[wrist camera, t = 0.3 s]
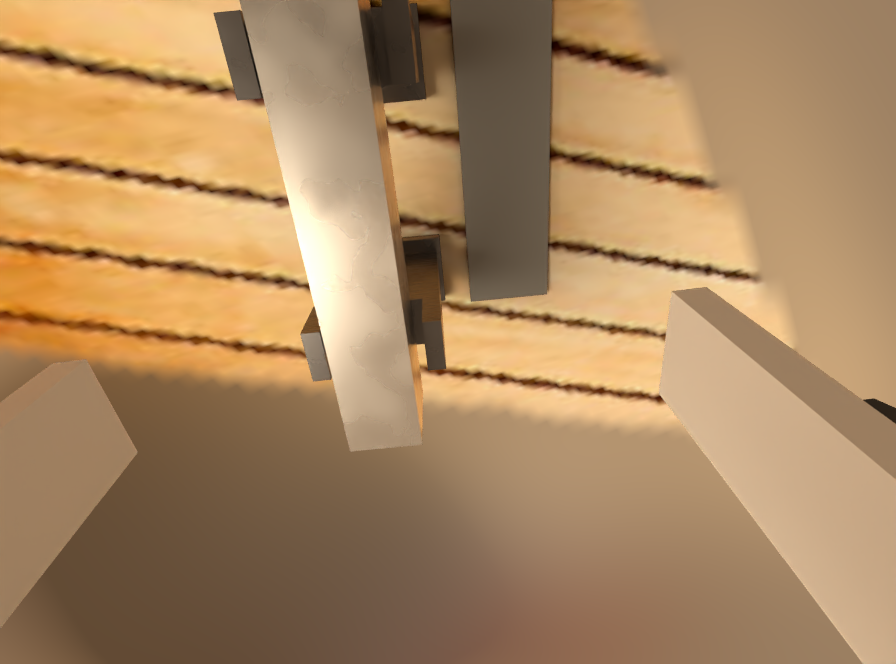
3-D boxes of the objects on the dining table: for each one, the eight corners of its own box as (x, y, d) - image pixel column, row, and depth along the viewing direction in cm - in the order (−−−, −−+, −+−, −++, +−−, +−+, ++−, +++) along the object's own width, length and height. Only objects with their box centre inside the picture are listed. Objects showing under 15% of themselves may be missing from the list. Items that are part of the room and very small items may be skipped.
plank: (449, -9, 28) (449, -10, 27) (550, -19, 28) (552, -20, 27) (470, 299, 37) (471, 301, 37) (545, 292, 37) (547, 294, 37)
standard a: (283, 18, 28) (196, -19, 17) (416, 5, 28) (411, -40, 17) (302, 110, 30) (237, 127, 20) (425, 98, 30) (426, 109, 20)
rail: (256, -87, 19) (205, -138, 14) (356, -97, 19) (335, -151, 14) (361, 397, 30) (350, 451, 26) (422, 391, 30) (422, 444, 26)
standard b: (331, 244, 35) (289, 317, 24) (439, 234, 35) (445, 302, 24) (344, 305, 37) (311, 396, 26) (445, 296, 37) (452, 382, 26)
